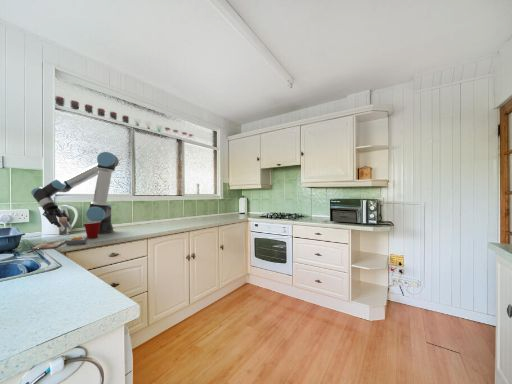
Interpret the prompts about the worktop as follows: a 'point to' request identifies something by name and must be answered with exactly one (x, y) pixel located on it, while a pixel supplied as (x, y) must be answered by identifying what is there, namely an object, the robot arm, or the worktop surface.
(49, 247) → the picture board
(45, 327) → the worktop surface
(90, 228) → the plastic cup
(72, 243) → the button housing
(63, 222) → the marker
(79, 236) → the button
